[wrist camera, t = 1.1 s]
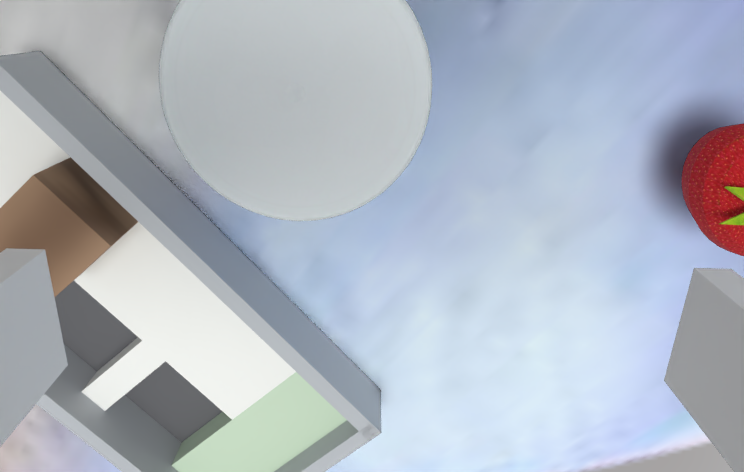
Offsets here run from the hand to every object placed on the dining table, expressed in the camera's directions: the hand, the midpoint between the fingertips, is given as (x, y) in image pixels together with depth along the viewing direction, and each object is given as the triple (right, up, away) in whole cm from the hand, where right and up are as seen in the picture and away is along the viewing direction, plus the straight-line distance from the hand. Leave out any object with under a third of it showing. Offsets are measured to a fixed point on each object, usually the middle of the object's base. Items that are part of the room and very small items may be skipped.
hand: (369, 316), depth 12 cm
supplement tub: (-2, +12, +21) cm, 24 cm away
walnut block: (-17, +3, +22) cm, 28 cm away
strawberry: (+20, +6, +23) cm, 31 cm away
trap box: (-15, -3, +27) cm, 31 cm away
